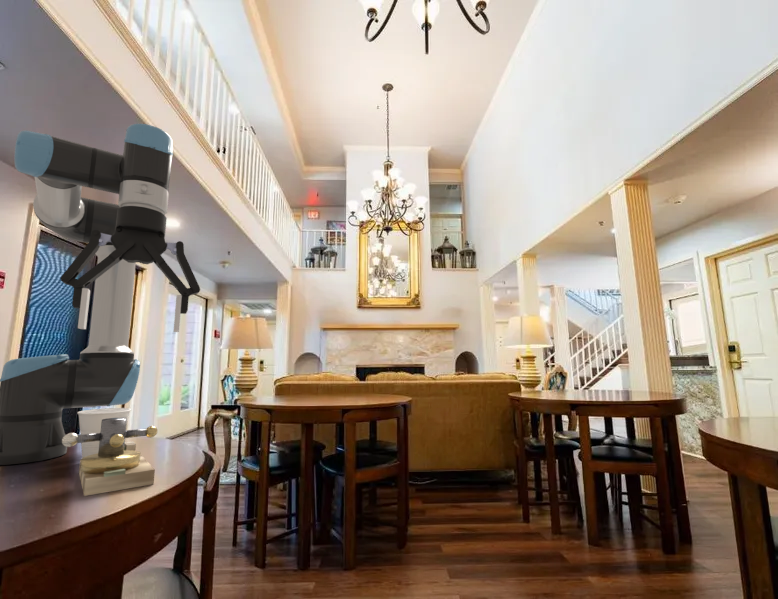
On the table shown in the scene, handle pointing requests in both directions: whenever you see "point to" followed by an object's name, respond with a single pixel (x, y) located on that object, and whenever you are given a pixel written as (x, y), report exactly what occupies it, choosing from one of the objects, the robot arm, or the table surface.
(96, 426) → the cup
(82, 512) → the table surface
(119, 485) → the stand
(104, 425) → the capstan
